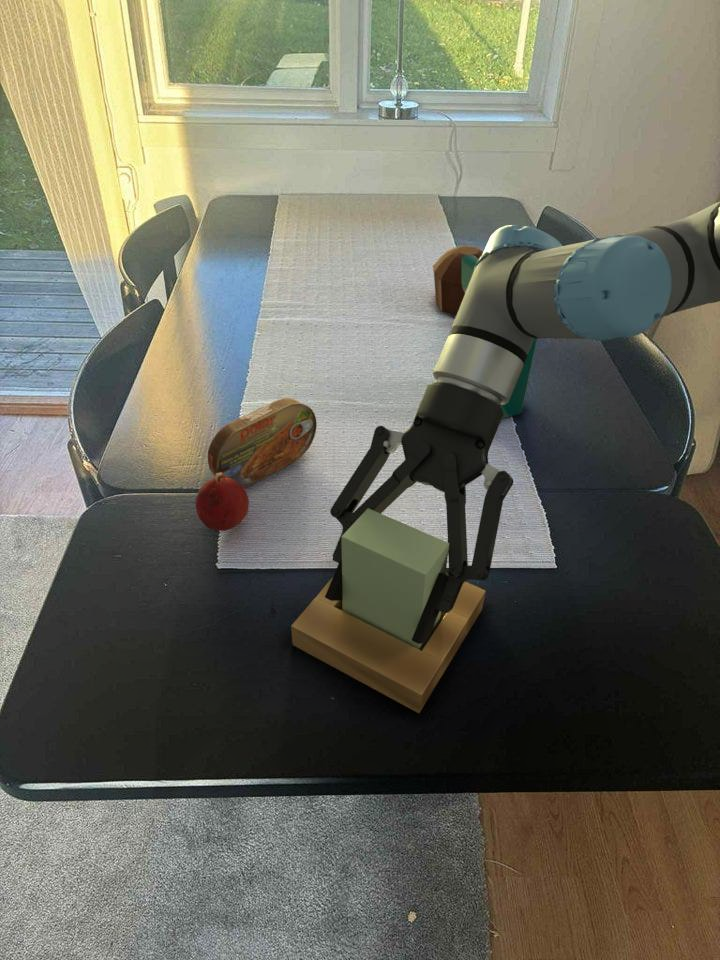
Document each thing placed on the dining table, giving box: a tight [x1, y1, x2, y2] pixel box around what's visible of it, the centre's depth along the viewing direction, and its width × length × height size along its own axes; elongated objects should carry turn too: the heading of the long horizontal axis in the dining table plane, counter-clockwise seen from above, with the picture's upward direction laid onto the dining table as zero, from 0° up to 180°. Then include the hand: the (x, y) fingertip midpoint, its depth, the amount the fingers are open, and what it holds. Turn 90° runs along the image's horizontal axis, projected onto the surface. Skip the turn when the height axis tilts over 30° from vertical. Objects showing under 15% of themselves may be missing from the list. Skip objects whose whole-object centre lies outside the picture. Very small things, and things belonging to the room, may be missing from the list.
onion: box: [195, 472, 250, 532], centre depth 78 cm, size 6×6×8 cm
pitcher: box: [462, 254, 539, 419], centre depth 93 cm, size 10×8×22 cm
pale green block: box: [342, 508, 449, 651], centre depth 66 cm, size 4×8×12 cm, turn 58°
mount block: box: [290, 578, 486, 714], centre depth 69 cm, size 14×14×3 cm
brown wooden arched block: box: [432, 244, 484, 318], centre depth 121 cm, size 12×11×10 cm
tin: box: [207, 397, 318, 489], centre depth 86 cm, size 15×3×8 cm, turn 132°
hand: (375, 619), depth 65 cm, fingers closed on pale green block, 8 cm apart
